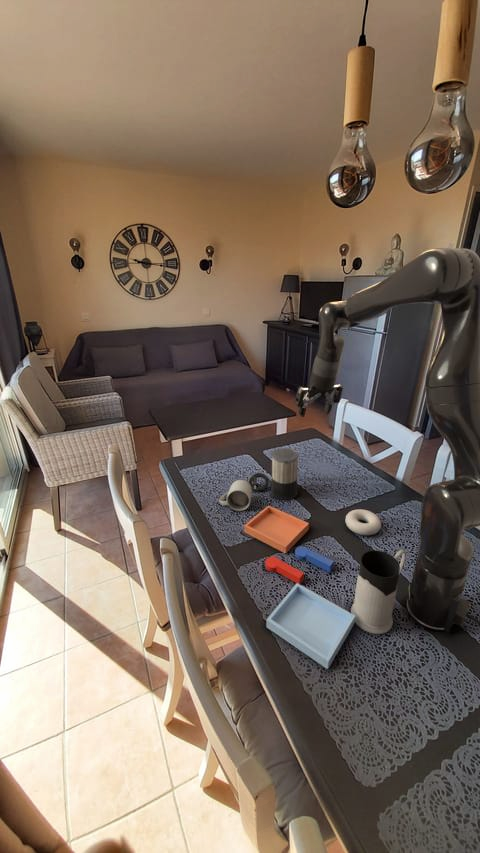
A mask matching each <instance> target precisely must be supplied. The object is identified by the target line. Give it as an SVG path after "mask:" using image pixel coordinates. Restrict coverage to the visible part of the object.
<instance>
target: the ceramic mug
mask: <svg viewBox="0 0 480 853" xmlns="http://www.w3.org/2000/svg"><path fill="white" fill-rule="evenodd" d="M248 482H249V481H246V480H244V479H237V480H235V481H234V482H233V483H231V486H230V488H229V491H227V492H225V493H224V494H223V495H221V497H220V498H219V501H218V502H219V504H220V505H221V506H225V507H226V506H228V507H229V508H230V509H232V510H233V511H237V512H242V511H245V510H247V509H248V508H249V507H250V505H251V501H252V493H253V490H252V488H251V486H250V484H249V483H248Z"/></svg>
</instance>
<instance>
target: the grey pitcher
mask: <svg viewBox="0 0 480 853" xmlns="http://www.w3.org/2000/svg"><path fill="white" fill-rule="evenodd" d="M400 556H401V560H400V563H399V561H398V558H399V557H400ZM406 557H407V552H406V551H405V550H403V549H399V550H398V551H397V552H396V553H395V555H394V556H392V555H391V554H390V553H388V552H385V551H381V550H375V549H374V550H368V551H365V552H364V553H362V555H361V556H360V562H359V570H358V572H357V579H356V585H355V594H354V600H353V604H352V605H351V607H350V613H351V614H353V615H355V623H354V624H356V625H357V626H358V627H359V628H360V629H362V630H363V631H365V632H367V633H370V634H373V635H382V634H385V633H387V632H389V631H390V630H391V629H392V628H393V624H394V618H393V612H394V608H395V601H396V597H397V592H398V581H399V577H400V575H401V572H402V570H403V567H404V565H405V560H406Z"/></svg>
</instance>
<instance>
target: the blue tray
mask: <svg viewBox="0 0 480 853" xmlns="http://www.w3.org/2000/svg"><path fill="white" fill-rule="evenodd" d="M355 624H356V623H355V615H353V614H351V612H349V611H348V610H346V609H344V608H343V607H340V606H339V605H337V604H335V603H334V602H332V601H331V600H329V599H326V598H324V597H323V596H322V595H320V594H317V593H316V592H315V591H312V590H311V589H309V588H307V587H305V586H304V585H302V584H301V583H300V584H298V583H295V585H294V586H292V588H291V590H289V592H288V593H287V594H286V596H284V598H283V599H282V600H281V602H280V603H279V604H278V605H277V606H276V608H275V609H274V610H273V611H272V612H271V613H270V615H268V617H267V618H266V628H267V629H269V630H270V631H271V632H273V633H274V634H276V635H277V636H279V637H280V638H281V639H283V640H284V641H286V642H287V643H289V645H292V646H293V647H295V648H296V649H297V650H299V651H300V652H301V653H303V654H305V656H307V657H309V658H311V659H312V660H314V661H315V662H316V663H318V664H319V665H320V666H322V667H323V668H325V669H326V670H329V669H330V666H331V665H332V663H333V661H334V660H335V658H336V656H337V654H338V653H339V651H340V649H341V648H342V646H343V644H344V642H345V641H346V639H347V638H348V636H349V634H350V632H351V630H352V629H353V627H354V625H355Z"/></svg>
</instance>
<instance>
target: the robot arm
mask: <svg viewBox="0 0 480 853" xmlns="http://www.w3.org/2000/svg"><path fill="white" fill-rule="evenodd" d="M411 304H412V305H413V304H414V305H415V304H426V305H440V308H441V325H442V326H441V334H440V339H439V342H438V345H437V346H436V350H435V352H434V354H433V356H432V358H431V361H430V363H429V366H428V367H427V368H428V369H427V371H426V375H425V396H426V408H427V413H428V416H429V418H430V419H431V422H432V424H433V425H434V426H435V428H436V429H437V431H438V432H439V434H440V435H441V436H442V438H443V440H444V441H445V442H446V444H447V445H448V447H449V450H450V452H451V455H452V461H453V471H454V472H453V473H454V474H453V475H454V476H453V479H449V480H444V481H440V482H436V483H435V482H434V483H432V484H431V485H429V486H428V487H427V489H426V490H425V492H424V495H423V498H422V503H421V510H420V518H419V526H418V532H419V537H420V542H419V545H418V551H417V555H416V559H415V560H416V561H415V565H414V570H413V574H412V578H411V583H410V585H408V596H407V599H406V610H407V612H408V614H409V616H410V617H411V618H412V619H413V620H414V621H415V622H416V623H417V624H419V625H420V626H422V627H423V628H425V629H428V630H431V631H435V632H445V633H447V634H451V631H452V628H453V626H454V624H455V625H457V626H459V627H461V628H463V626H464V623H465V621H466V618H468V619H469V620H471V621H473V622H475V623H476V624H478V625H480V619H478V618H476V617H475V616H474V615H471V614H470V613H469V612H468V610H469V607H470V604H471V602H470V601H469V600H466V599H464V598H462V595H463V591H464V588H465V585H466V580H467V577H468V573H469V571H470V566H471V563H472V560H473V557H474V552H475V551H474V546H473V544H472V542H471V541H470V540H469V539H468V538H467V537H466V536H465V535H464V534H463V531H465V530H469V529H473V528H477V527H480V257H479V255H478V254H477V252H475V251H474V250H472V249H469V248H461V247H454V248H453V247H438V248H437V247H435V248H431V249H430V248H429V249H428V250H425V251H423V252H422V253H420V254H419V255H417V256H415V257H413V259H411V260H410V261H408V262H407V263H406V264H404V265H402V267H401V268H399V269H397V270H396V271H395V272H393V273H392V274H390V275H389V276H388V277H386V278H384V279H383V280H381V281H379V282H377V283H375V284H373V285H371V286H369V287H367V288H364V289H362V290H360V291H358V292H356V293H353V294H352V295H351V296H349V297H348V298H347V299H346V300H344V301H342V300H341V301H329V302H326V303H324V305H323V306H322V307H321V308H320V309H319V312H318V328H319V331H318V332H319V333H318V334H319V341H318V347H317V351H316V356H315V357H314V360H313V364H312V368H311V373H310V378H309V384H308V386H307V387H303V386H299V387H298V388H297V392H296V395H295V399H294V403H295V405H297V408H298V414H299V416H300V417H301V418H304V417H305V416H306V411H307V407H308V406H309V405H311V404H313V403H314V402H316V401H325V399H326V401H325V405H324V407H323V408H324V409H323V412H324V414H325V415H330V413H331V411H332V409H333V406H334V405H335V404H339V403H340V402H341V398H342V394H343V386H342V385H341V384H340V383H339V382H337V380H338V376H339V372H340V368H341V363H342V358H343V354H344V351H345V347H346V339H345V338H344V337H343V336H342V335H340V334H337V333H335V332H336V331H337V330H348V329H353V328H357V327H358V326H360V325H361V324H363V323H365V322H369V321H372V320H374V319H377V318H381V317H382V316H385V315H386V314H387V313H388V312H390V310H392V309H393V308H395V307H398V306H404V305H411ZM332 393H333V395H332V396H331V394H332Z"/></svg>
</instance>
